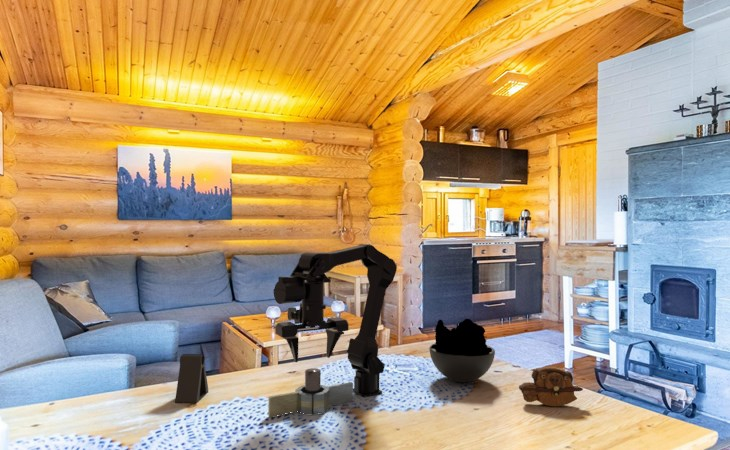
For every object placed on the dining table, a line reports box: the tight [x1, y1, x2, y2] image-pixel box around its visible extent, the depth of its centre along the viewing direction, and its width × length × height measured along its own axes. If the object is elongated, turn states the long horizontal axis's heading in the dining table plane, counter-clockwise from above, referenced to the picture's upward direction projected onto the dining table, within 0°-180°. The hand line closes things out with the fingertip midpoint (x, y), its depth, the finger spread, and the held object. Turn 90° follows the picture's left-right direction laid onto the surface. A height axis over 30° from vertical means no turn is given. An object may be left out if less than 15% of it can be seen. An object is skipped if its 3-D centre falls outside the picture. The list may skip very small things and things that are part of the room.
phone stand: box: [174, 353, 209, 404], centre depth 136 cm, size 9×6×12 cm, turn 177°
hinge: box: [267, 381, 354, 418], centre depth 128 cm, size 24×8×5 cm, turn 120°
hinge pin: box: [304, 367, 322, 394], centre depth 128 cm, size 4×4×10 cm
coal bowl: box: [428, 318, 496, 383], centre depth 152 cm, size 20×20×19 cm
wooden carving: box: [518, 366, 584, 407], centre depth 131 cm, size 16×5×10 cm, turn 89°
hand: (312, 359), depth 128 cm, fingers open, 9 cm apart
